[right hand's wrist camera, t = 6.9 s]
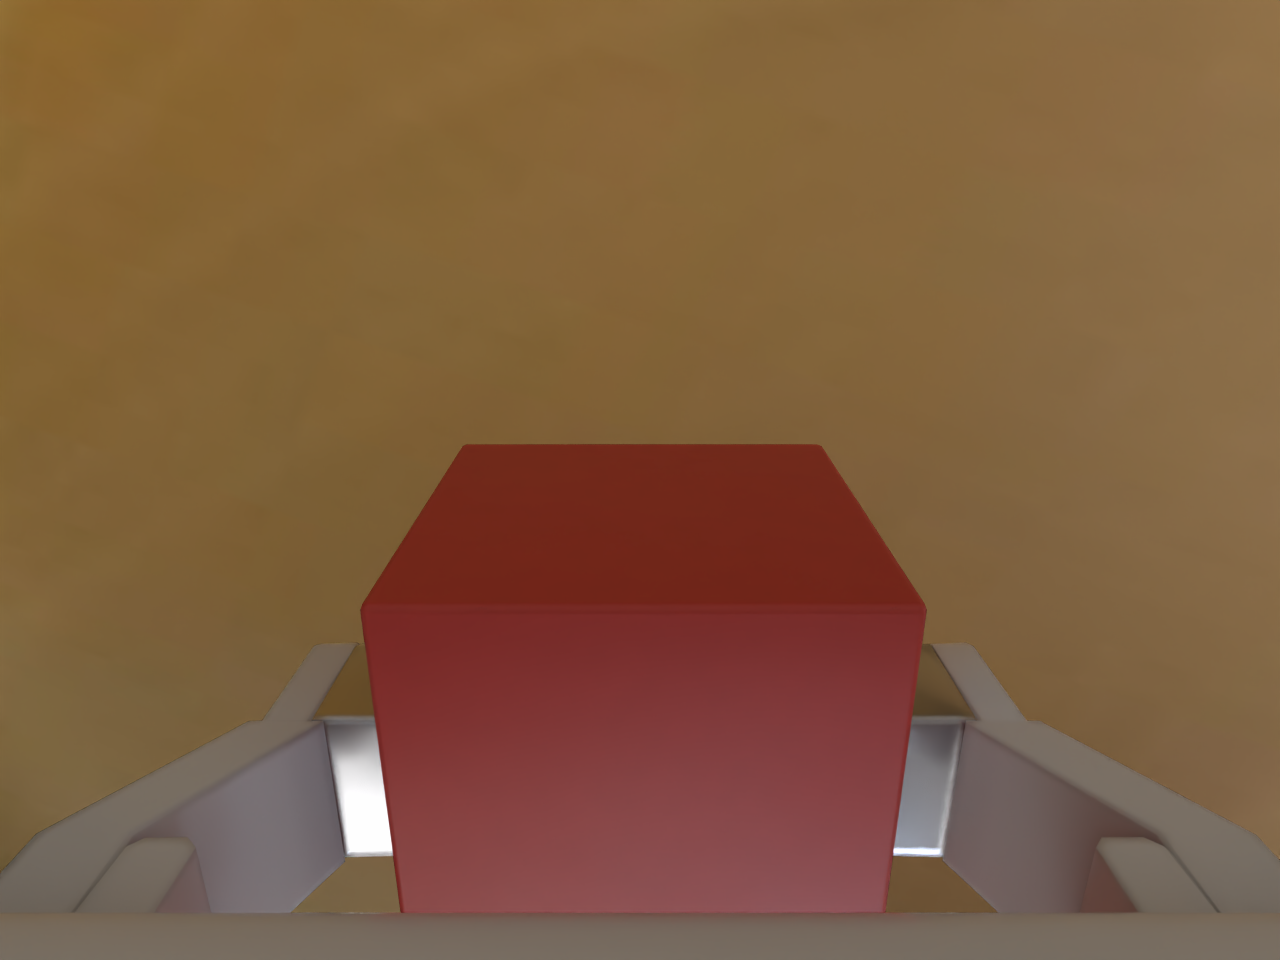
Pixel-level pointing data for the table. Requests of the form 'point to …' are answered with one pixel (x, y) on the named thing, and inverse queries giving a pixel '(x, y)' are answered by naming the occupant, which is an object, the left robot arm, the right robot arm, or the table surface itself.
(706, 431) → the table surface
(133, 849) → the right robot arm
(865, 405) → the table surface
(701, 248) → the table surface
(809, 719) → the red cube
